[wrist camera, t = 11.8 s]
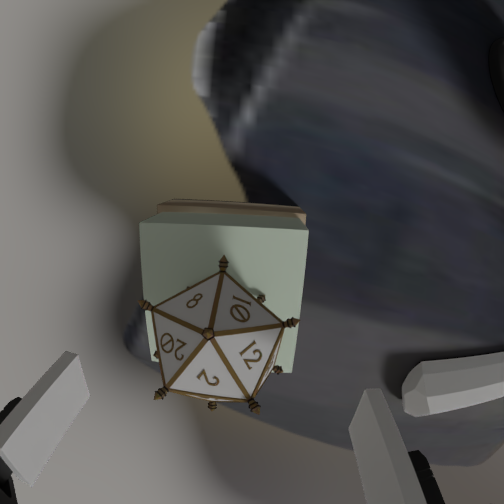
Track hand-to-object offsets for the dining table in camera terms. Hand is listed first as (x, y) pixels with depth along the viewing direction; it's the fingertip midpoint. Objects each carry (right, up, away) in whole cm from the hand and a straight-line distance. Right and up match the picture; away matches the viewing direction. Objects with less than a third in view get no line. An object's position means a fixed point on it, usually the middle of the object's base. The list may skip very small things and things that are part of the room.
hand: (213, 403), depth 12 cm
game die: (0, +3, +9) cm, 9 cm away
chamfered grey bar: (+33, -12, +22) cm, 41 cm away
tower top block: (0, +4, +13) cm, 14 cm away
